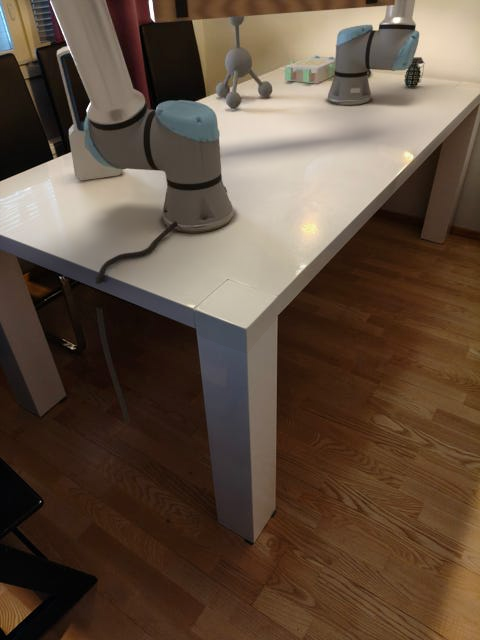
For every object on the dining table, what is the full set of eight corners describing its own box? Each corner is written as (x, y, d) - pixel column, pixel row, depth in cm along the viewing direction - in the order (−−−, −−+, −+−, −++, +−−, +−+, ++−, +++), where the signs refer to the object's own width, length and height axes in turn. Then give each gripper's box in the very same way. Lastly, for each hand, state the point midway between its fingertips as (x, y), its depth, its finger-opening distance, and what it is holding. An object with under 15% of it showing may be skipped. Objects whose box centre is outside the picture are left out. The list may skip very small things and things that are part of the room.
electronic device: (76, 181, 127) (42, 52, 109) (76, 171, 133) (43, 47, 115) (124, 174, 130) (98, 47, 111) (122, 165, 135) (97, 42, 117)
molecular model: (285, 103, 178) (286, 6, 160) (229, 112, 172) (223, 12, 154) (260, 90, 196) (258, 1, 177) (208, 97, 190) (200, 6, 171)
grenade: (402, 88, 186) (407, 59, 180) (402, 85, 191) (406, 56, 185) (420, 88, 185) (425, 59, 179) (420, 85, 189) (424, 56, 183)
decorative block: (306, 53, 217) (348, 56, 208) (306, 69, 221) (346, 73, 212) (276, 65, 201) (319, 68, 192) (276, 82, 205) (318, 86, 196)
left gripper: (192, -116, 94) (202, 19, 108) (178, -106, 112) (189, 9, 125) (153, -115, 93) (169, 21, 107) (145, -105, 111) (160, 11, 124)
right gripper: (413, -122, 102) (397, 4, 116) (365, -113, 119) (356, -4, 133) (380, -121, 101) (368, 7, 115) (336, -111, 118) (330, -1, 132)
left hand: (179, 15), depth 116 cm, fingers closed on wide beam, 10 cm apart
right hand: (362, 1), depth 124 cm, fingers closed on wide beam, 10 cm apart
